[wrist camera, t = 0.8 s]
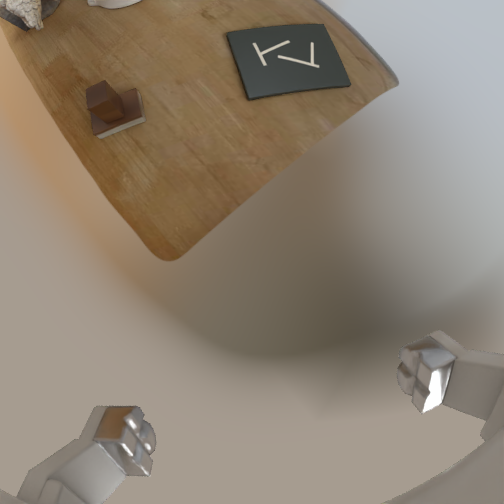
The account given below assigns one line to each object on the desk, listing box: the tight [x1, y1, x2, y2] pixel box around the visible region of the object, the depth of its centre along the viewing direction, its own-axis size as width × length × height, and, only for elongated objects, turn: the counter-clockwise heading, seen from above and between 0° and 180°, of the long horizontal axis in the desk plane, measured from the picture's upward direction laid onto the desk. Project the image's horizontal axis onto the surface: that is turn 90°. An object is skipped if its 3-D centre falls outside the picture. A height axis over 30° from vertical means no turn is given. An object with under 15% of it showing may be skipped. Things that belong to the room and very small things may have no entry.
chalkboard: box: [227, 24, 351, 100], centre depth 38 cm, size 14×18×1 cm
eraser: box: [86, 80, 146, 139], centre depth 32 cm, size 5×8×10 cm, turn 107°
